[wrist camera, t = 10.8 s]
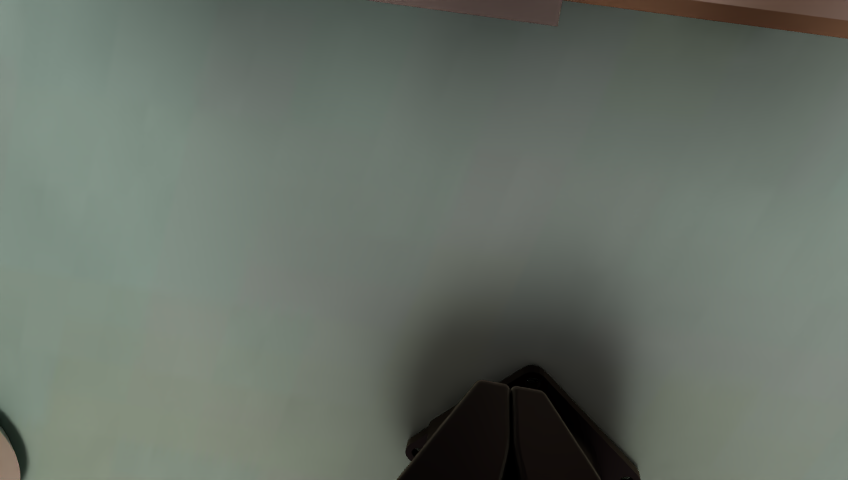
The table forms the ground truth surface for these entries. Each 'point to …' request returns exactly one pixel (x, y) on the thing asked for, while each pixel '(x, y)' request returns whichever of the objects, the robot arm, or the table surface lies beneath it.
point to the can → (8, 459)
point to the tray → (495, 8)
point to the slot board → (752, 12)
